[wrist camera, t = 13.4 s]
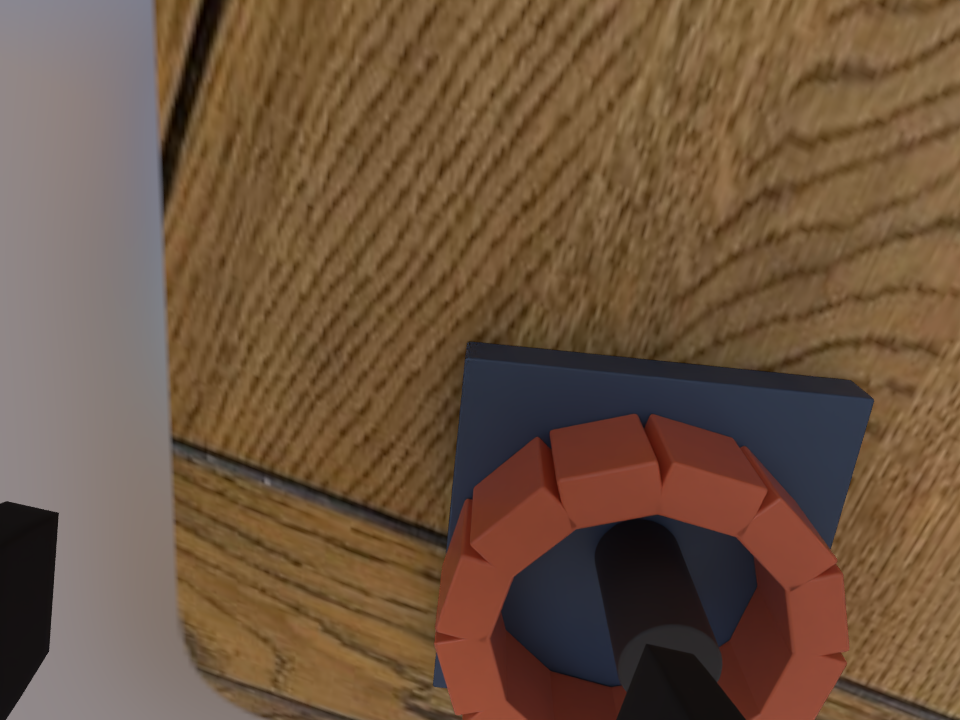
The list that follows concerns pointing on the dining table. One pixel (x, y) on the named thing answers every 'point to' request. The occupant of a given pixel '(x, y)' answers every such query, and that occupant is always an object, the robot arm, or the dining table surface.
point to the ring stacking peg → (653, 539)
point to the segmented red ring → (624, 496)
